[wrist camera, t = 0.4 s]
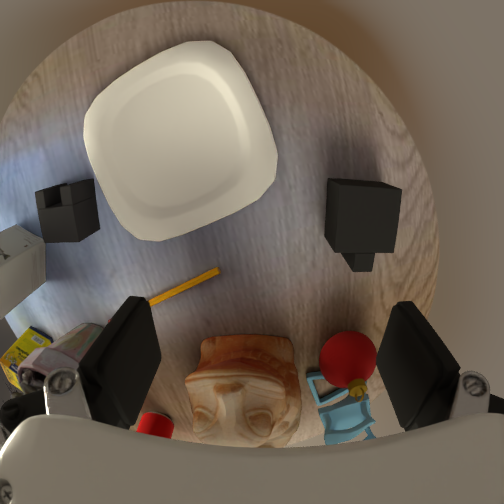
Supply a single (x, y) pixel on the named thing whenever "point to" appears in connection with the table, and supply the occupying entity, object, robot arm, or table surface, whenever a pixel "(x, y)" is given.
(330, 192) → the black rectangular block
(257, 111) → the plate
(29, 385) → the potted plant
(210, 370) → the ceramic vessel
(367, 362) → the christmas ornament
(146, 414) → the beverage can
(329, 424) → the chair
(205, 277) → the pencil
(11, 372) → the supplement box
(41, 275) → the white packaging box
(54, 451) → the robot arm
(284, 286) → the table surface
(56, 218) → the socket pad
